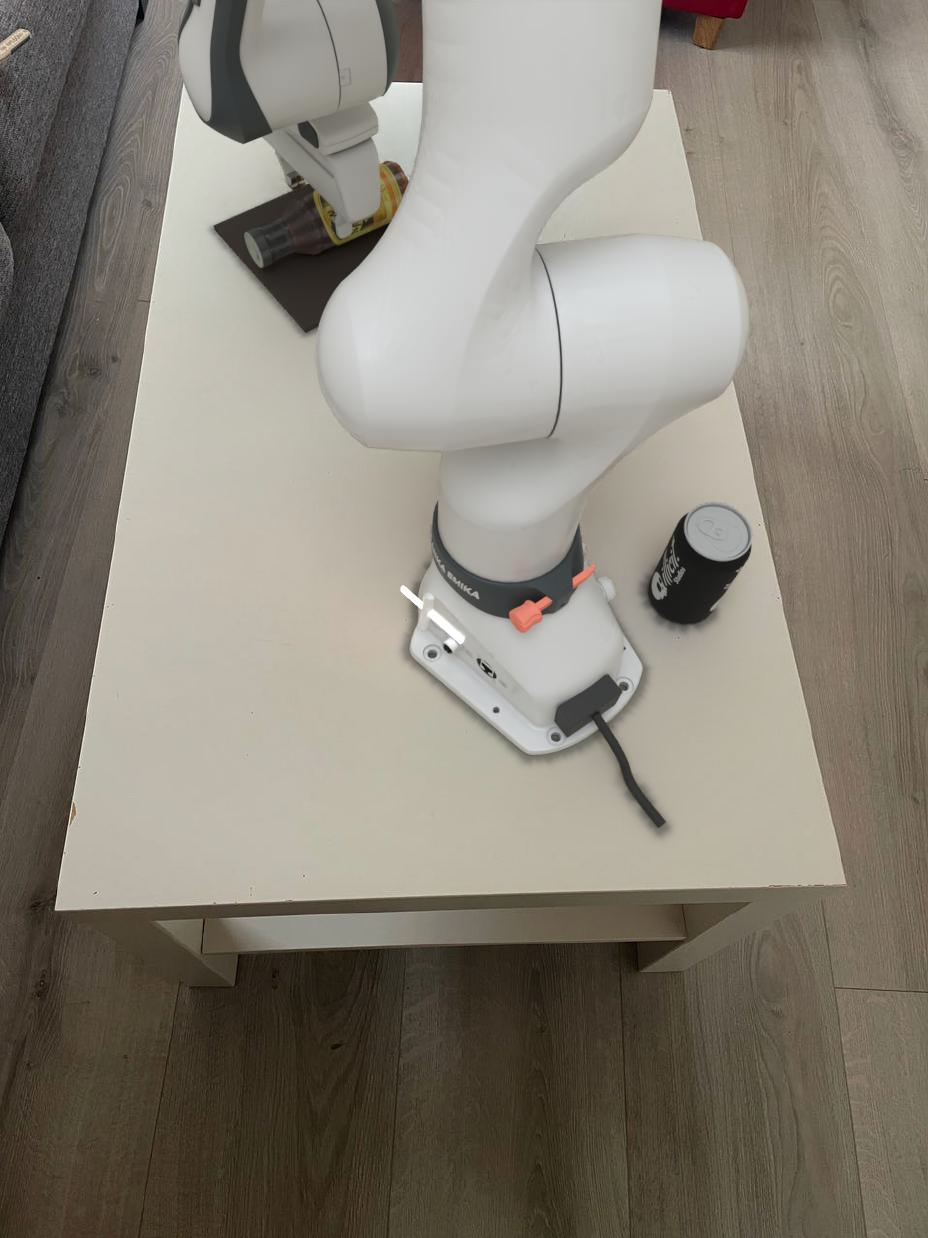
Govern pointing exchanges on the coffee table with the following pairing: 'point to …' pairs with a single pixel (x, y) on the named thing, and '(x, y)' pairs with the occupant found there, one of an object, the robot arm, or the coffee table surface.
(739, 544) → the beverage can
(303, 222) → the sauce bottle
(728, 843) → the coffee table surface
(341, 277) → the mat
